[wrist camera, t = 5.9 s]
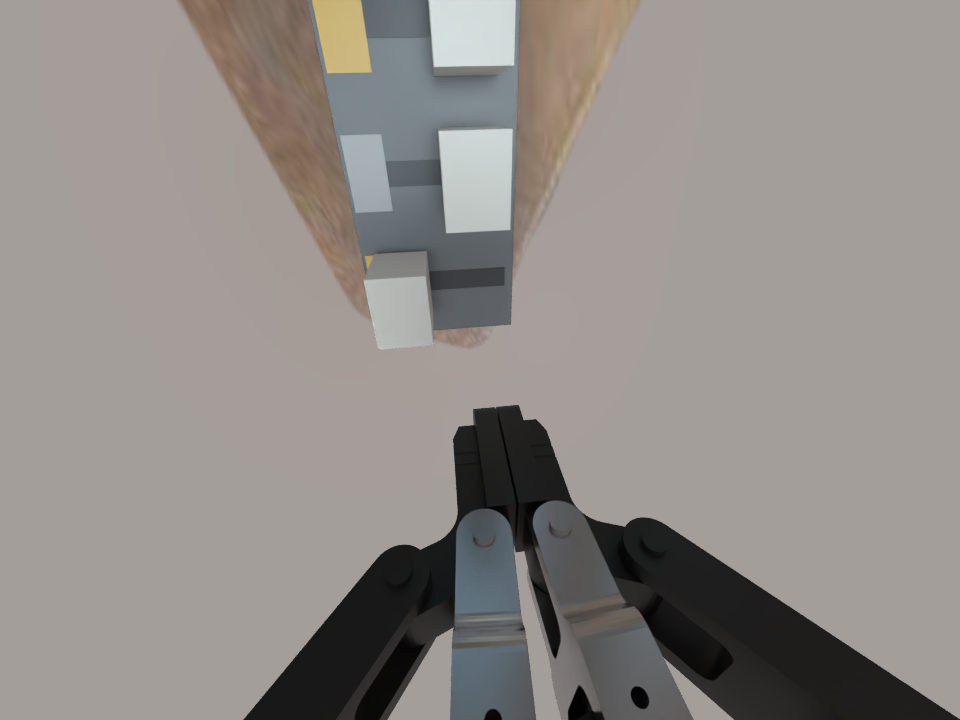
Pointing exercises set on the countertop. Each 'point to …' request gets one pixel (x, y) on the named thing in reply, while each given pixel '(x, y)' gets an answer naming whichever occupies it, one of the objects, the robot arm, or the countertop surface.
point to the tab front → (472, 36)
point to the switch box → (414, 148)
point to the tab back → (400, 299)
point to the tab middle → (476, 177)
